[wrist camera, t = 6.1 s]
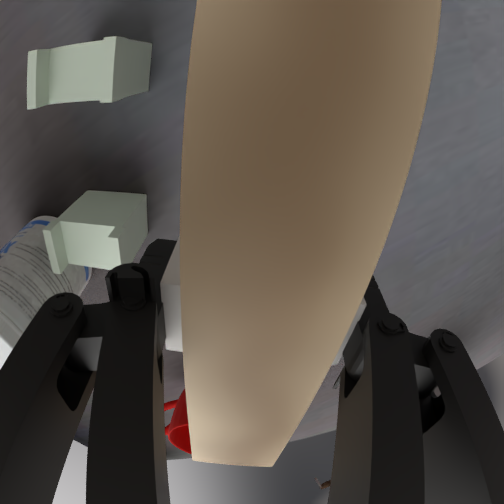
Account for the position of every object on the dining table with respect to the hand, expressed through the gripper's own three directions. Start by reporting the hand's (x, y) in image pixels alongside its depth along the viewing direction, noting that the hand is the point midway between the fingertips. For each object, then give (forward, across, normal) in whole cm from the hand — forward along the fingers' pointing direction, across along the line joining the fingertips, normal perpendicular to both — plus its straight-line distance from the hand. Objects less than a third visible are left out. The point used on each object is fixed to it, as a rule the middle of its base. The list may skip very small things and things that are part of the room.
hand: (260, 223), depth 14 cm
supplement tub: (+12, +20, +12) cm, 27 cm away
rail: (-3, 0, 0) cm, 3 cm away
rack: (+12, +12, 0) cm, 17 cm away
